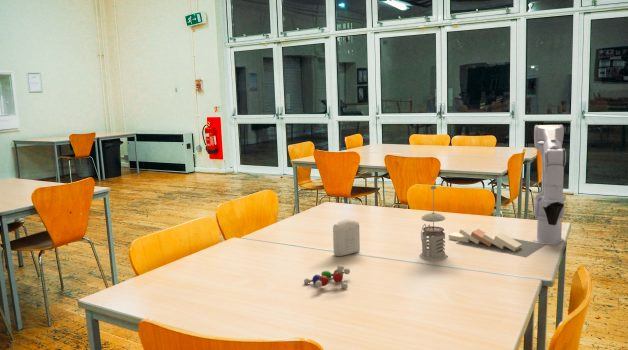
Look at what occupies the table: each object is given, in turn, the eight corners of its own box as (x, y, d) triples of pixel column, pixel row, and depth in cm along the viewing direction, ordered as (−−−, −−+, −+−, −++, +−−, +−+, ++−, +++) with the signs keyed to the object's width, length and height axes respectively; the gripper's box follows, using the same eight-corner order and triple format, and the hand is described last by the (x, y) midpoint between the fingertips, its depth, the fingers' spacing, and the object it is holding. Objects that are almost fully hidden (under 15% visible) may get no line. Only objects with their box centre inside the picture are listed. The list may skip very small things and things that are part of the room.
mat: (478, 233, 201) (478, 232, 201) (546, 245, 183) (546, 244, 183) (455, 244, 189) (455, 243, 189) (526, 258, 171) (526, 257, 170)
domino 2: (483, 241, 190) (465, 229, 194) (485, 237, 189) (467, 226, 194) (477, 244, 186) (459, 232, 191) (479, 240, 186) (460, 229, 190)
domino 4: (520, 247, 180) (500, 236, 185) (522, 244, 180) (501, 232, 184) (514, 251, 177) (493, 239, 181) (516, 247, 176) (495, 235, 181)
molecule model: (298, 298, 153) (335, 296, 145) (293, 274, 153) (330, 271, 145) (325, 283, 165) (361, 281, 158) (320, 261, 165) (356, 258, 158)
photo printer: (354, 249, 189) (353, 216, 187) (361, 251, 185) (360, 218, 183) (331, 254, 183) (330, 221, 181) (338, 257, 179) (337, 223, 177)
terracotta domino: (496, 243, 186) (477, 232, 191) (497, 239, 186) (478, 228, 191) (489, 246, 183) (470, 235, 188) (491, 243, 182) (472, 231, 187)
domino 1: (474, 239, 192) (455, 235, 198) (474, 235, 192) (455, 231, 198) (468, 242, 189) (448, 238, 194) (468, 238, 189) (448, 234, 194)
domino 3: (508, 245, 183) (488, 234, 188) (509, 242, 183) (490, 230, 187) (502, 249, 180) (482, 237, 185) (503, 245, 179) (483, 234, 184)
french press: (453, 255, 177) (453, 184, 173) (436, 264, 169) (436, 190, 165) (428, 249, 184) (428, 181, 180) (410, 258, 176) (410, 187, 172)
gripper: (551, 181, 178) (550, 219, 180) (531, 186, 169) (530, 226, 171) (572, 183, 173) (571, 222, 175) (552, 188, 163) (551, 230, 165)
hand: (552, 224), depth 172 cm, fingers closed
